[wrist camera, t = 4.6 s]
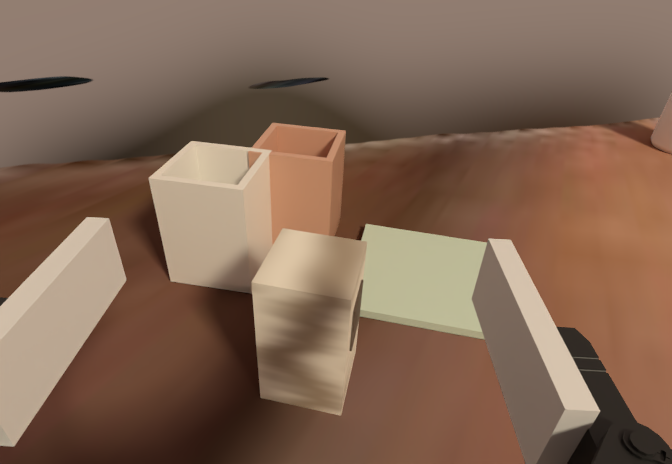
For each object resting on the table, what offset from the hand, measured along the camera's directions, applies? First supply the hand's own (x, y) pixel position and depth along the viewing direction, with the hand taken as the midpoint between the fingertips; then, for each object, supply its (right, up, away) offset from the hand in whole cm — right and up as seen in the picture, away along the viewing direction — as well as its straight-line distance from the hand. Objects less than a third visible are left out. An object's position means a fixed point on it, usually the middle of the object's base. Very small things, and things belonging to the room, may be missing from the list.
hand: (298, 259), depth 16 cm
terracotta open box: (-3, +1, +34) cm, 34 cm away
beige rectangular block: (-1, -10, +18) cm, 21 cm away
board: (+10, -4, +29) cm, 31 cm away
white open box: (-10, -2, +29) cm, 31 cm away
